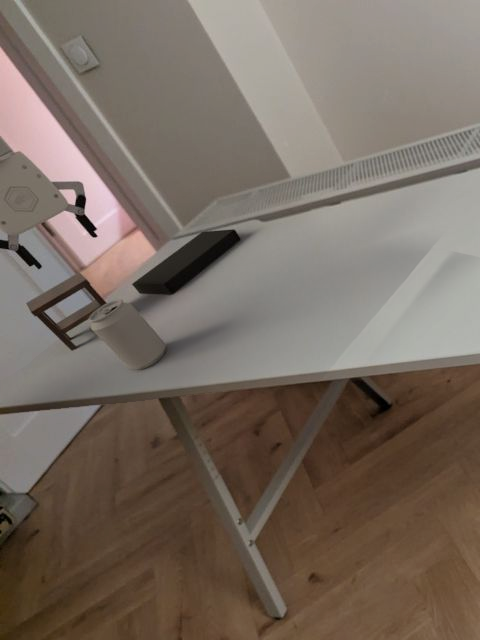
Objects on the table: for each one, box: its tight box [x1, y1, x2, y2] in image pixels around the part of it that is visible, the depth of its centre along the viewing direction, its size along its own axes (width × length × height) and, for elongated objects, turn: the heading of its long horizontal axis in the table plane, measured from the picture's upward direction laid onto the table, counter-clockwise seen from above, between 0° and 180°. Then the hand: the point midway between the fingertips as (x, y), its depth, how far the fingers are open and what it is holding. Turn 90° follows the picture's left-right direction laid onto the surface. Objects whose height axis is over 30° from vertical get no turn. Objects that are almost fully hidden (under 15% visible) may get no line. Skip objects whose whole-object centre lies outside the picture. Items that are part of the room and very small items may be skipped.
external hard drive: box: [131, 228, 242, 296], centre depth 133 cm, size 14×23×3 cm, turn 153°
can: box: [88, 298, 167, 370], centre depth 98 cm, size 8×8×12 cm
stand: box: [25, 272, 107, 351], centre depth 119 cm, size 12×9×11 cm
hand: (67, 251), depth 92 cm, fingers open, 9 cm apart
